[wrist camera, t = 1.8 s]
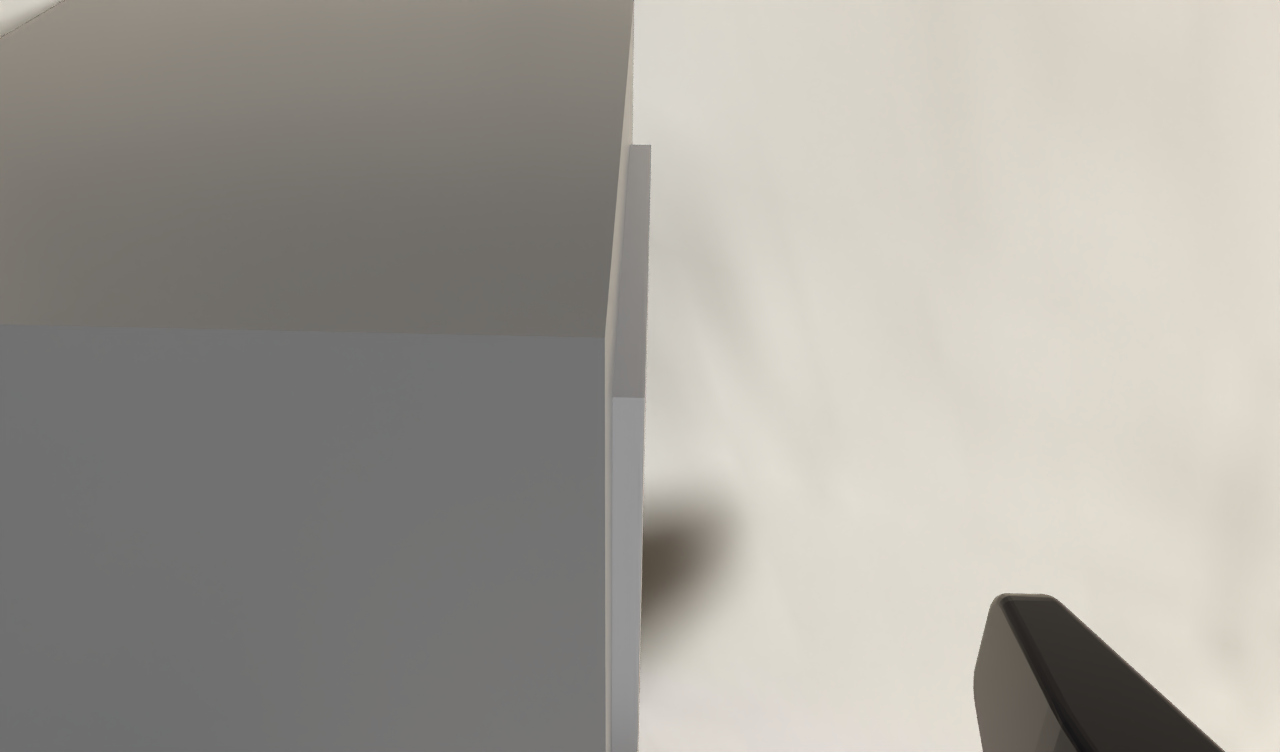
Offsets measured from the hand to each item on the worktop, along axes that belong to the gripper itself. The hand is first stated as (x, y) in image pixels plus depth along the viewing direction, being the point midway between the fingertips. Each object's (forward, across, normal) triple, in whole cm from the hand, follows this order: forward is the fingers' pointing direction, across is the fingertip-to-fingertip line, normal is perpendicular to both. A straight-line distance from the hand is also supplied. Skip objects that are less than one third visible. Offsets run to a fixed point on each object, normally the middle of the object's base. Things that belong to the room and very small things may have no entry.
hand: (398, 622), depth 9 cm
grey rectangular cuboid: (+2, 0, 0) cm, 2 cm away
